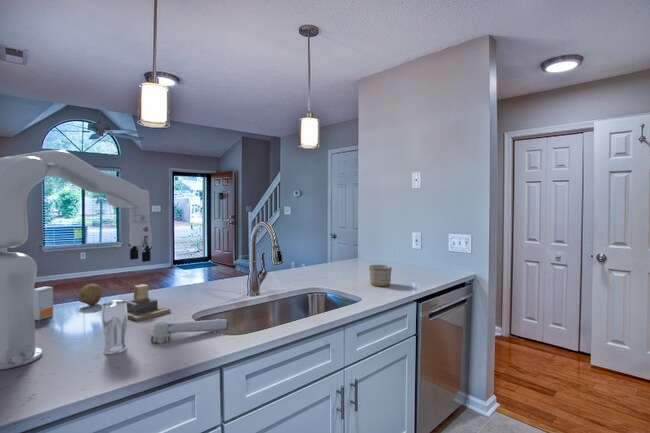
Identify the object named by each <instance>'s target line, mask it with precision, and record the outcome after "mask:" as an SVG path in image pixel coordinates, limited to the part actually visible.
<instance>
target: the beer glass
mask: <svg viewBox="0 0 650 433" xmlns="http://www.w3.org/2000/svg"><path fill="white" fill-rule="evenodd" d="M127 301H128V300H123V299H119V300H118V299H117V300H110V301H106V302H103V303H102V304H101V318H100V320H101V327H102V331H103V335H104V341H105V343H104V349H103V354H104V355H110V356H112V355H118V354H121V353H123V352H125V351H126V350H127V349H128V348H127V343H126V331H127V326H128V320H129V319H128V312H127Z"/></svg>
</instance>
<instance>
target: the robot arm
mask: <svg viewBox="0 0 650 433" xmlns="http://www.w3.org/2000/svg"><path fill="white" fill-rule="evenodd" d="M47 177H58V178H60V179H63V180H65V181H66V182H68V183H71V184H73V185H75V186H76V187H78V188H79V189H81V190H84V191H85V192H89V193H94V194H99V195H106V202H107V203H108V204H109V206H111V207H115V208H128V212H129V213H128V223H129V230H128V231H129V233H128V234H129V235H128V237H129V238H128V241H127V242H128V247H129V248H128V249H129V259H130V260H138V259H139V249H138V248H141V250H142V252H141V262H143V263H145V262H146V263H147V262H151V251H152V247H153V246H152V245H153V237H152V236H153V234H152V228H151V222H150V221H151V220H150V214H151V213H150V192H149V190H146V189H141V188H140V187H138V186H137V185H135V184H134V183H132V182H130V181H128V180H126V179H123V178H122V177H118V176H115V175H113V174H110V173H108V172H105V171H102V170H99V169H98V168H97V167H94V166H93V165H91V164H90V163H88V162H87V161H85V160H83V159H81V158H80V157H78V156H77V155H74V154H73V153H71V152H69V151H66V150H63V149H55V150H54V149H53V150H42V151H35V152H31V153H30V152H29V153H24V154H17V155H10V156H3V157H0V371H1V370H7V369H8V370H9V369H12V368H17V367H20V366H24V365H27V364H29V363H32V362H34V361H36V360H38V359H39V358H40V357H41V356H43V349H41V348H40V347H36V322H35V321H36V320H35V314H34V289H35V284H36V280H37V279H36V278H37V273H38V265H37V262H36V261H35V260H34V258H32V257H31V256H30V255H28V254H26V253H21V252H18V251H17V252H13V251H8V249H12V248H18V247H20V246H22V245H23V244H25V243H26V242H27V240H28V238H29V223H28V212H27V200H28V196H29V193H30V192H31V191H32V189H33V188H34V187H35V186H37V185H38V184H40V183H41V182H43V181H44V180H45V178H47Z"/></svg>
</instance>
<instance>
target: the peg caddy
mask: <svg viewBox="0 0 650 433" xmlns="http://www.w3.org/2000/svg"><path fill="white" fill-rule="evenodd" d="M126 301H127V312H128V319H127V320H130V321H133V322H136V323H137V322H141V321H145V320H149V319H152V318H155V317H160V316H162V315H167V314H170V313H171V308H168V307H165V306H163V305H162V306H161V305H159V304H158V299H156V298H151V297H149V296H148V301H147V302H143V303H138V304H137V303H134V299H130V300H126Z"/></svg>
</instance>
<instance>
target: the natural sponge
mask: <svg viewBox="0 0 650 433" xmlns="http://www.w3.org/2000/svg"><path fill="white" fill-rule="evenodd" d="M103 292H104V291H103V287H102V286H100V285H99V284H96V283H89V284H86V285H84V286H82V288H81V289H80V292H79V294H78V296H77V298H78V301H79V302H80V303H83V304H86V305H87V306H90V307H94V306H96V305H97V304H98V303H99V302H100V301H101V299H102V296H103Z"/></svg>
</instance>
